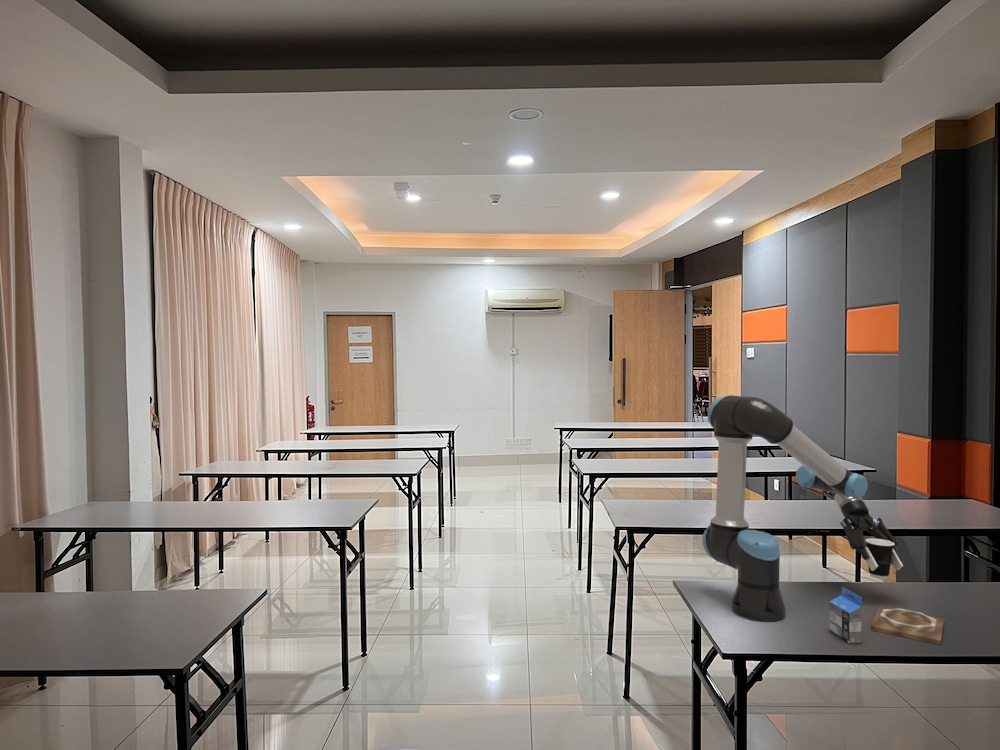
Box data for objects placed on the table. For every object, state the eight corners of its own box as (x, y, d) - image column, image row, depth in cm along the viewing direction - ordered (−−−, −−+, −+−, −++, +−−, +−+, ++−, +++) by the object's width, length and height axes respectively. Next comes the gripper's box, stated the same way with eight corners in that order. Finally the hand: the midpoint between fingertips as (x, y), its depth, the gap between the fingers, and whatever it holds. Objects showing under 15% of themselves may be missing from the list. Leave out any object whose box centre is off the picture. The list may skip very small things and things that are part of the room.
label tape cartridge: (828, 630, 179) (828, 586, 179) (841, 629, 179) (841, 586, 179) (848, 644, 170) (848, 597, 170) (862, 643, 171) (862, 597, 170)
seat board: (871, 630, 179) (871, 620, 179) (879, 610, 193) (879, 602, 193) (940, 644, 169) (940, 635, 169) (944, 623, 184) (944, 614, 183)
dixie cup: (871, 571, 205) (871, 537, 205) (898, 578, 199) (899, 542, 199) (859, 575, 200) (860, 540, 200) (886, 582, 194) (887, 546, 194)
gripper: (873, 510, 216) (910, 573, 200) (817, 511, 213) (850, 575, 197) (885, 498, 211) (924, 561, 195) (829, 498, 207) (863, 563, 192)
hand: (887, 568), depth 196 cm, fingers closed on dixie cup, 8 cm apart
